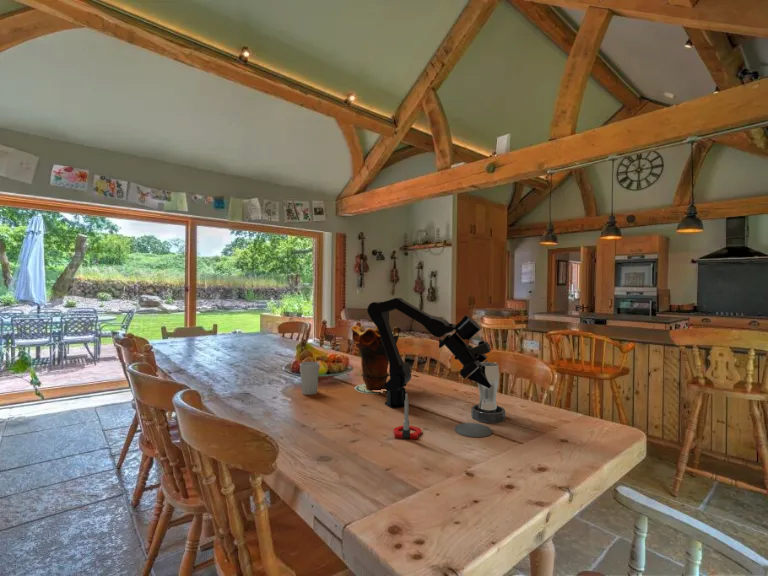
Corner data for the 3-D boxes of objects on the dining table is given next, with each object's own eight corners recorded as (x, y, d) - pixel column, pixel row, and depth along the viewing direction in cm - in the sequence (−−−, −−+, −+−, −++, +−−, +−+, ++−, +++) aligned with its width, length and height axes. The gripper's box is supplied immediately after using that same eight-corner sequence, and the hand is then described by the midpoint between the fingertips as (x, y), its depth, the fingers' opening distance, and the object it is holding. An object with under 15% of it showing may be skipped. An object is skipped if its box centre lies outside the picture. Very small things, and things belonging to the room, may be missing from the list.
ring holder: (486, 425, 123) (486, 415, 123) (465, 415, 132) (465, 406, 132) (511, 420, 127) (511, 410, 127) (489, 410, 137) (489, 402, 137)
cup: (297, 391, 163) (297, 362, 163) (316, 389, 166) (316, 361, 166) (302, 396, 156) (302, 366, 156) (321, 393, 159) (321, 364, 159)
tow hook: (395, 428, 121) (391, 438, 112) (395, 386, 122) (391, 393, 113) (422, 430, 120) (420, 440, 111) (422, 388, 120) (421, 394, 111)
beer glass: (496, 405, 133) (496, 362, 133) (500, 412, 126) (501, 366, 126) (475, 404, 134) (476, 361, 133) (478, 411, 127) (479, 365, 126)
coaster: (470, 440, 111) (470, 438, 111) (447, 427, 121) (447, 426, 121) (499, 433, 116) (499, 432, 116) (475, 422, 126) (475, 420, 126)
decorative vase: (410, 384, 173) (408, 321, 171) (382, 399, 153) (380, 329, 152) (371, 378, 184) (369, 319, 182) (341, 392, 164) (338, 326, 163)
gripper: (470, 336, 123) (506, 375, 118) (481, 330, 140) (513, 364, 135) (445, 359, 126) (479, 397, 122) (459, 350, 143) (490, 384, 139)
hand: (492, 384), depth 129 cm, fingers closed on beer glass, 7 cm apart
